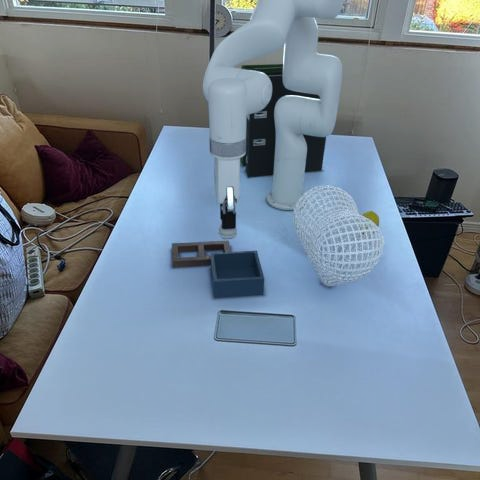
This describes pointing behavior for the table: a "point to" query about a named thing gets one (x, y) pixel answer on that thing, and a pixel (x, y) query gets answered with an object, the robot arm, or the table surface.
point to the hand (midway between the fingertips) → (228, 222)
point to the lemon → (372, 217)
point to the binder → (264, 133)
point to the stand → (201, 249)
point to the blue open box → (236, 274)
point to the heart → (336, 236)
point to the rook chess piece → (227, 231)
